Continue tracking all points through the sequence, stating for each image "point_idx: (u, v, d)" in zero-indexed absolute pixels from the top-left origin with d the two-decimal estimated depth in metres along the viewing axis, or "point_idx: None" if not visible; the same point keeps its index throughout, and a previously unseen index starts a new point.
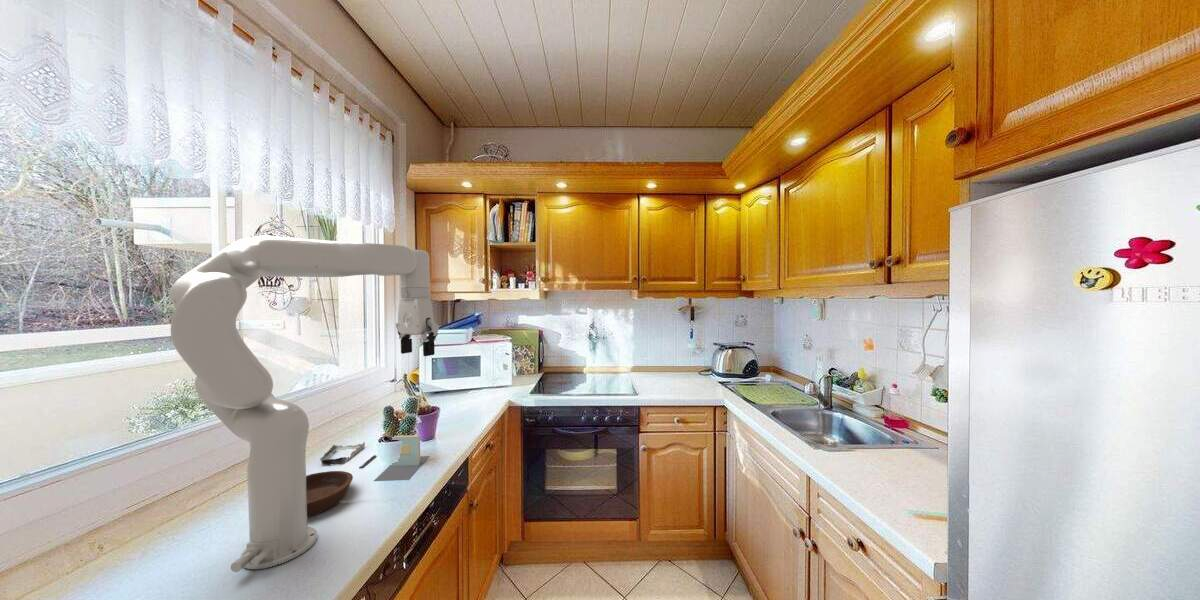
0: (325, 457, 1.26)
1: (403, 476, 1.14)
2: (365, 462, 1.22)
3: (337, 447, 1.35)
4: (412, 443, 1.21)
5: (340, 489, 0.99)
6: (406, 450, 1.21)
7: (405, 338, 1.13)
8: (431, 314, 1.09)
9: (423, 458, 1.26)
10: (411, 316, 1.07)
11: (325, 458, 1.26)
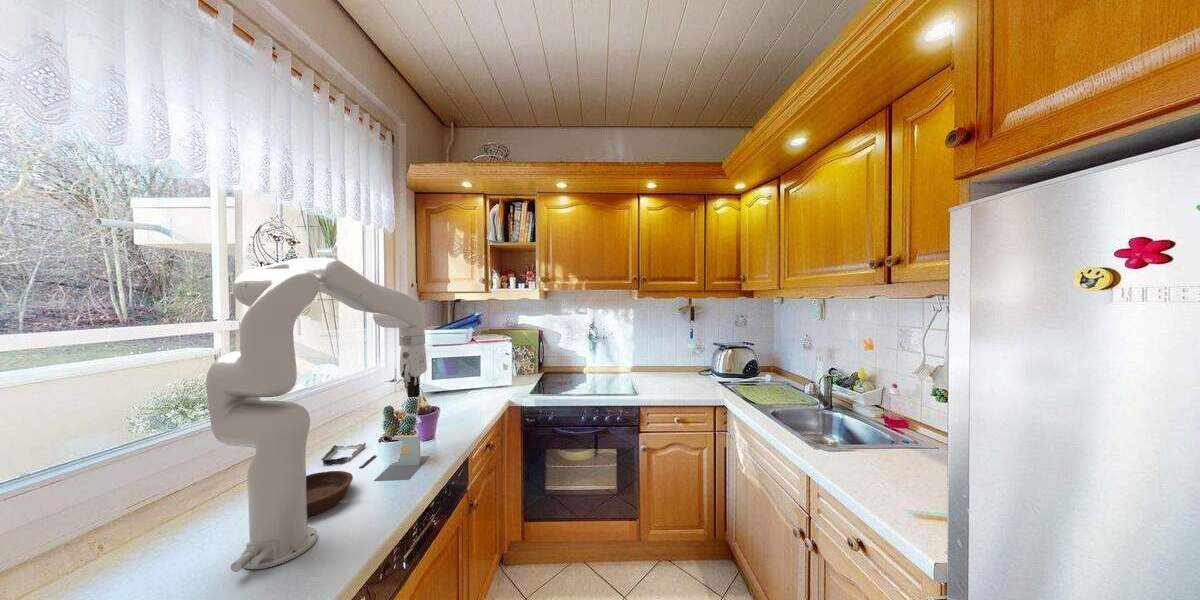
0: (326, 457, 1.26)
1: (403, 476, 1.14)
2: (365, 462, 1.22)
3: (338, 447, 1.34)
4: (412, 443, 1.21)
5: (340, 489, 0.99)
6: (406, 450, 1.21)
7: None
8: None
9: (423, 458, 1.26)
10: (423, 358, 1.29)
11: (326, 458, 1.26)
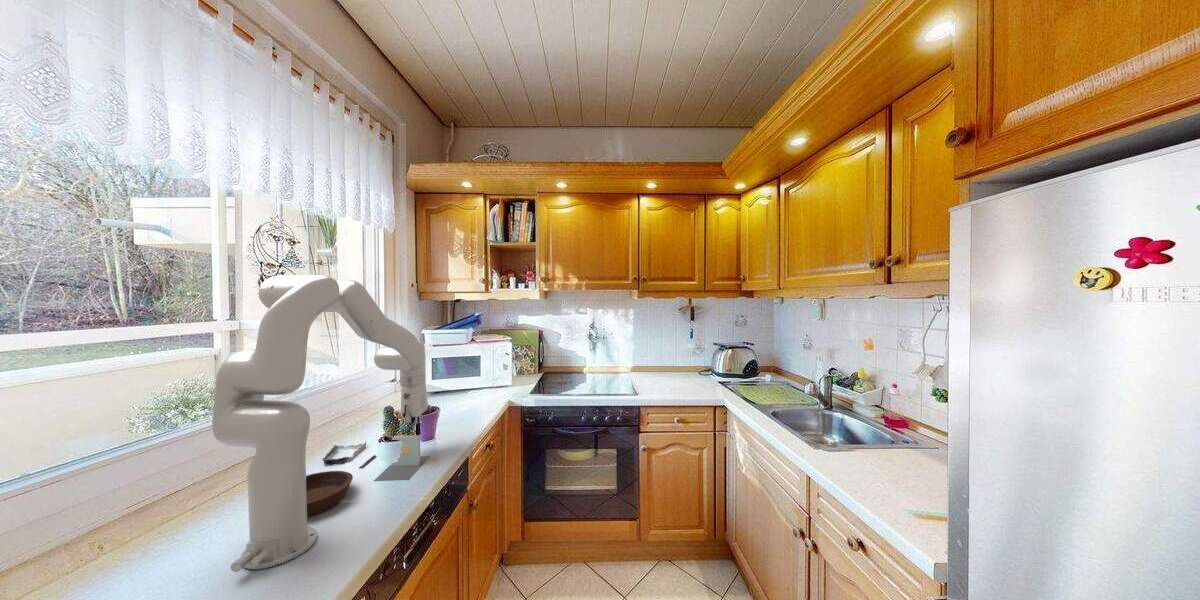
0: (327, 457, 1.26)
1: (403, 476, 1.14)
2: (365, 462, 1.22)
3: (338, 447, 1.34)
4: (412, 443, 1.21)
5: (340, 489, 0.99)
6: (406, 450, 1.21)
7: None
8: None
9: (423, 458, 1.26)
10: (424, 396, 1.29)
11: (327, 458, 1.26)
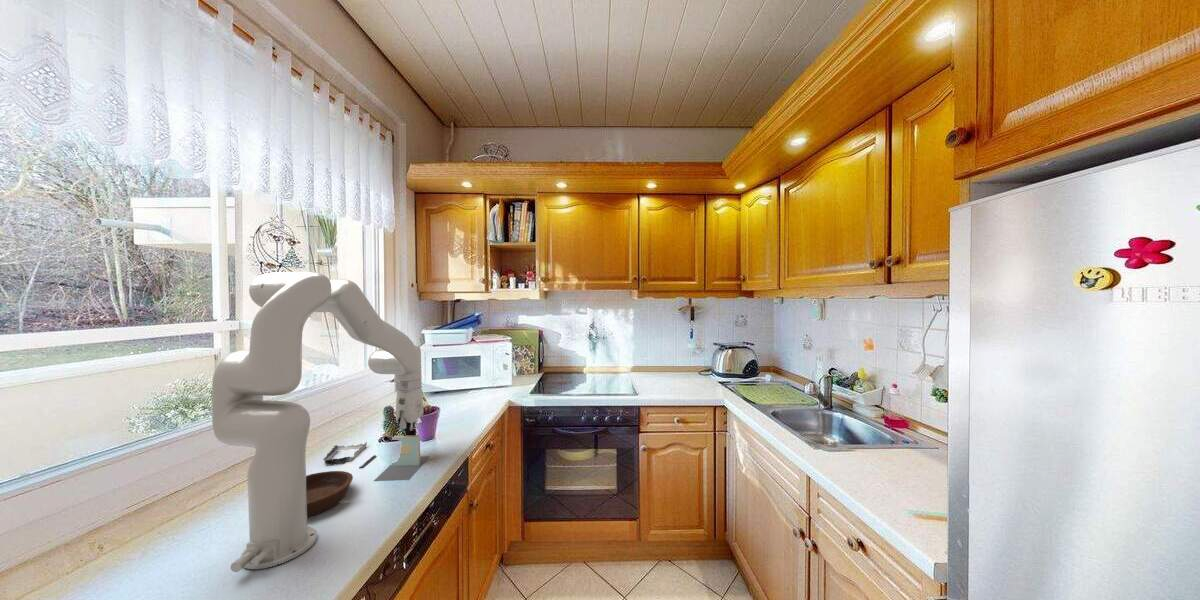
0: (328, 457, 1.26)
1: (403, 476, 1.14)
2: (365, 462, 1.22)
3: (339, 447, 1.34)
4: (412, 443, 1.21)
5: (340, 489, 0.99)
6: (406, 450, 1.21)
7: None
8: None
9: (423, 458, 1.26)
10: (420, 402, 1.26)
11: (328, 458, 1.26)
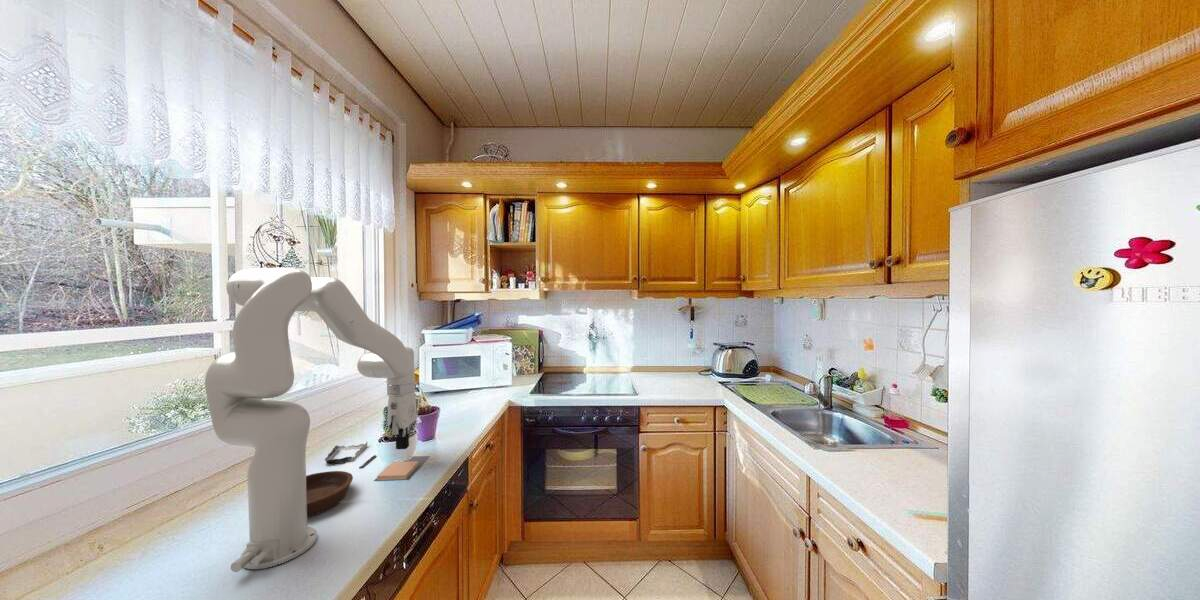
0: (329, 457, 1.26)
1: None
2: (365, 462, 1.22)
3: (339, 447, 1.34)
4: None
5: (340, 489, 0.99)
6: None
7: None
8: None
9: (423, 458, 1.26)
10: (413, 406, 1.20)
11: (329, 458, 1.26)
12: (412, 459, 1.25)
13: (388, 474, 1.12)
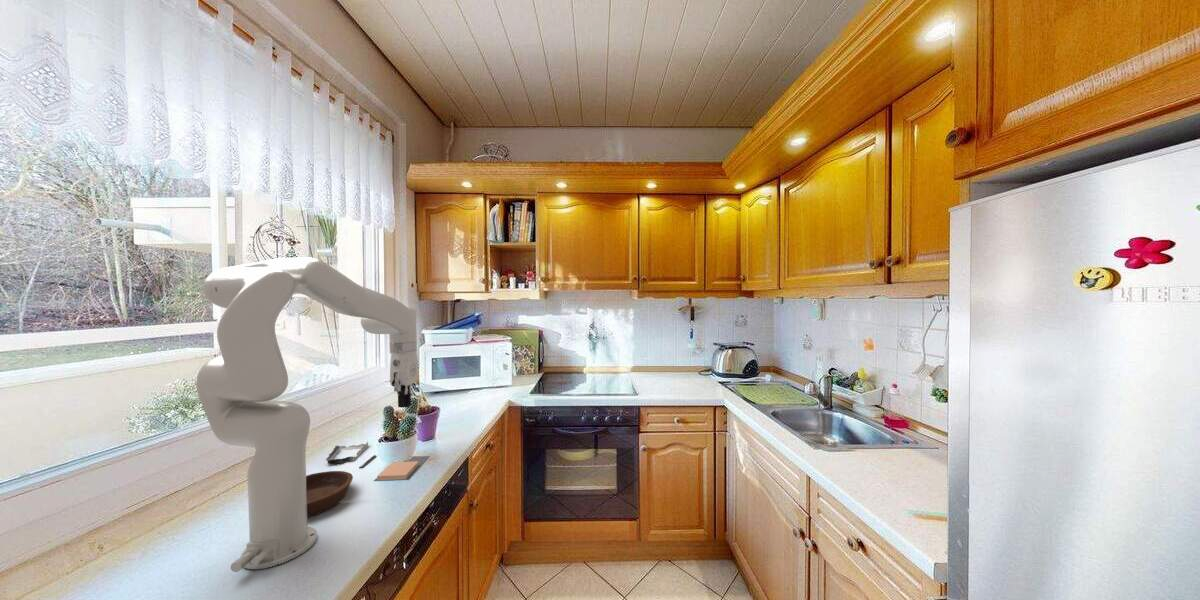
0: (330, 457, 1.26)
1: None
2: (365, 462, 1.22)
3: (340, 447, 1.34)
4: None
5: (340, 489, 0.99)
6: None
7: None
8: None
9: (423, 458, 1.26)
10: (415, 366, 1.22)
11: (330, 458, 1.26)
12: (412, 459, 1.25)
13: (388, 474, 1.12)
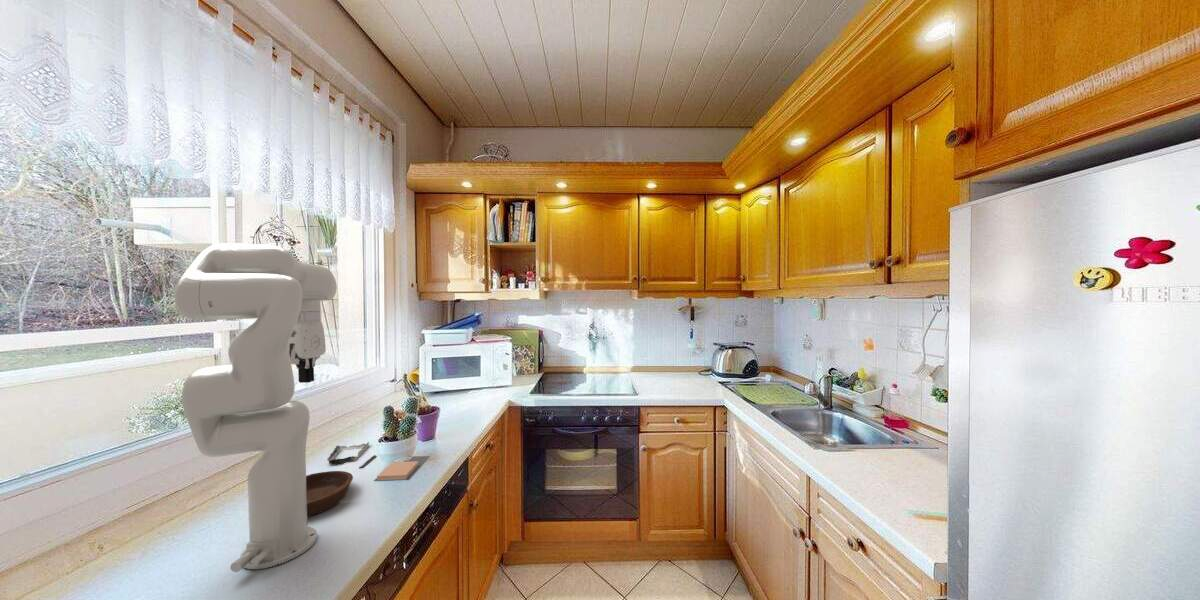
0: (331, 457, 1.26)
1: None
2: (365, 462, 1.22)
3: (340, 447, 1.34)
4: None
5: (340, 489, 0.99)
6: None
7: None
8: None
9: (423, 458, 1.26)
10: (319, 338, 1.13)
11: (331, 458, 1.26)
12: (412, 459, 1.25)
13: (388, 474, 1.12)
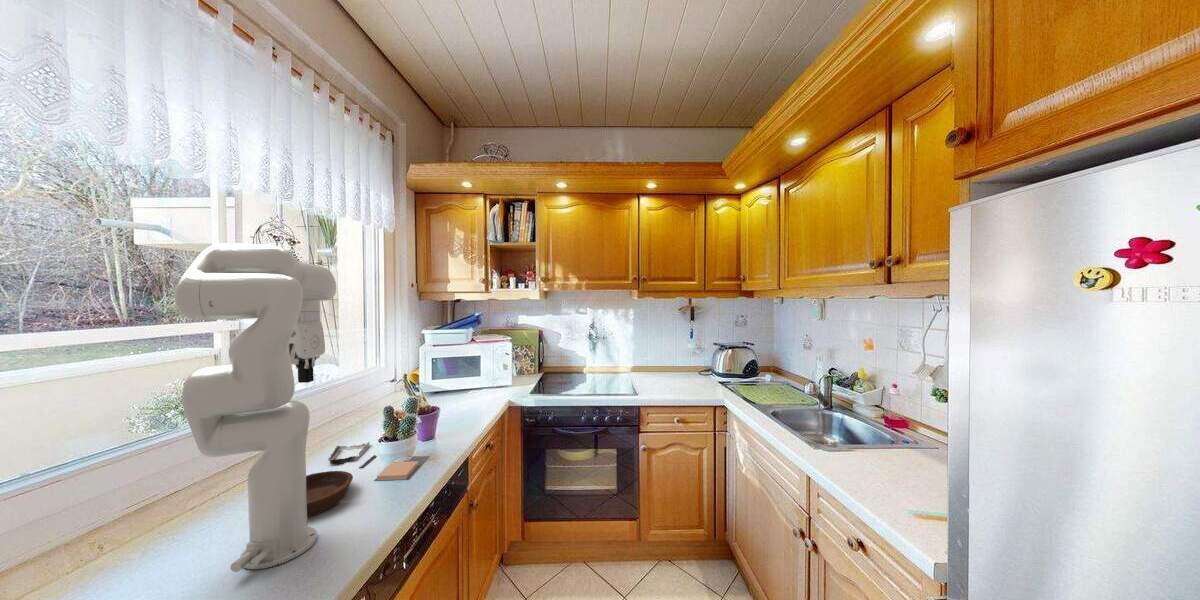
0: (332, 457, 1.26)
1: None
2: (365, 462, 1.22)
3: (341, 448, 1.34)
4: None
5: (340, 489, 0.99)
6: None
7: None
8: None
9: (423, 458, 1.26)
10: (318, 338, 1.13)
11: (332, 458, 1.26)
12: (412, 459, 1.25)
13: (388, 474, 1.12)
